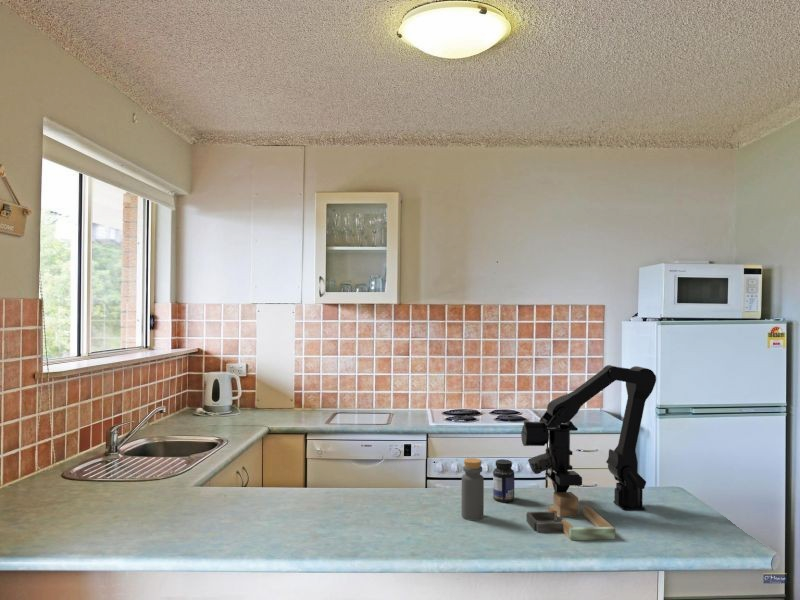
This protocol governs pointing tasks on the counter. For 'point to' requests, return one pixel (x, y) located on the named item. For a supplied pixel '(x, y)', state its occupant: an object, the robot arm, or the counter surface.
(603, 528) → the channel
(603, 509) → the counter surface
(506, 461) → the pill bottle
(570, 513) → the walnut block
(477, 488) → the bottle
